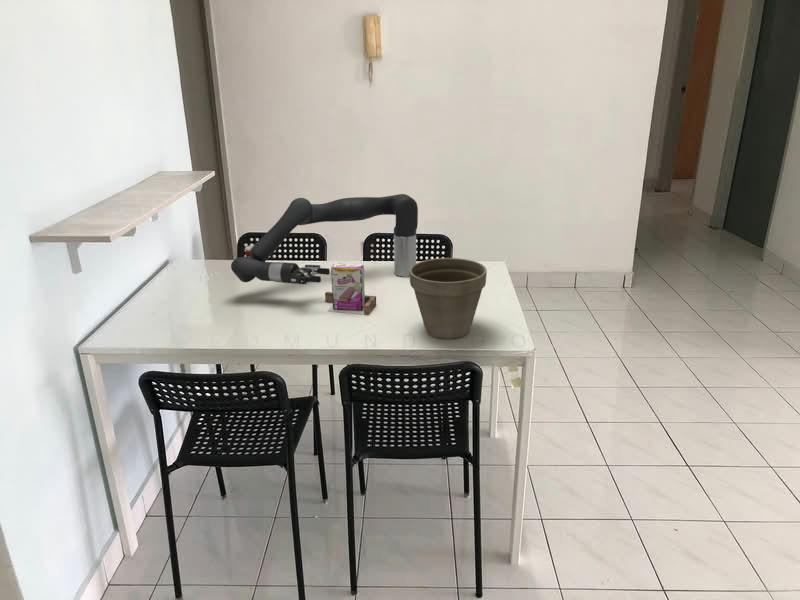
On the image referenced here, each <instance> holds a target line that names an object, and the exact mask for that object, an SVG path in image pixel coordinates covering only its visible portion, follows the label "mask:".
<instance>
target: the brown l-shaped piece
mask: <svg viewBox="0 0 800 600" xmlns="http://www.w3.org/2000/svg"><path fill="white" fill-rule="evenodd" d="M324 298H325V299H324V300H325V303H331V304H333V298H332V292H331V291H326V292H324ZM376 306H377V296H376V295H375V296H374V295H367V294H365V305H364V316H369V315H370V314H369V313H371V312H372V311H373V310H374V309H375V307H376ZM373 308H374V309H373Z"/></svg>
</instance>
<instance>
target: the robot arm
mask: <svg viewBox="0 0 800 600" xmlns="http://www.w3.org/2000/svg"><path fill="white" fill-rule="evenodd" d="M418 209H419V207H418V203H417V201H416V200H415V199H414V198H413V197H411V196H410V195H408V194H405V193H399V194H398V193H397V194H394V195H388V196H381V197H380V196H378V197H377V196H374V197H373V196H365V197H364V196H363V197H362V196H361V197H360V196H357V197H356V196H355V197H345V198H344V197H343V198H339V199H335V200H332V201H328V202H325V203H311V201H309V199H307V198H305V197H298V198H297V197H296V198H295V199H293V200H292V201H291V202H290V204H289V206H288V207H287V209H286V210H285V211H284V213H283V215H281V217H280V218H279V219H278V221H276V223H275V224H274V225H273V226H272V227H271V228H270V229H269V230H268V231H267V232H266V233H265V234H264V235H263V236H262V237H260V239H259V240H258V241H257V242H256V243H254V244H253V245H254V246H253V247H252V248H251V250H250V255H251V258H248V257H246V256H241V257H236V258H234V260H233V261H232V262H231V264H230V269H231V271H232V273H234V275H235V276H236V277H237V278H238V279H239V281H240V282H242V283H249V282H251V281H253V280H254V279H257V280H259V281H264V282H273V283H282V284H295V285H296V284H297V285H307V284H310V283H317V284H319V283H321V282H322V278H321V276H320V275H324V276H325V275H328V276H329V275H330V274H331V268H326V267H325V268H324V267H321V265H319V264H305V265H304V266H303V267H299V265H298V263H296V262H285V261H284V262H283V261H282V262H281V261H275V262H272V261H267V260H268V259H269V258H270V257H271V256H272V255H273V254H274V253H275V251H277V250H278V248H279V247H280V245H281V244H282V243H283V242H284V240H285V239H286V238H287V236H288V235H290V233H291V232H292V231H293V230H294V229H295V228H296V227H298V226H306V225H311V224H319V223H324V222H337V223H338V222H354V221H355V222H357V221H358V222H359V221H364V220H367V219H368V220H369V219H372V218H374V217H377V216H385V215H386V216H387V215H388V216H389V215H390V216H391V215H392V216H395V224H394V225H395V226H394V228H393V255H394V258H393V260H394V262H393V263H394V264H393V266H394V267H393V269H394V271H393V272H394V273H395V274H396V276H397V275H398V277H400V276H402V277H405V278H408V277H409V269H410V267H411V266H413V265H414V264H416V263H417V229H418V225H419V223H418V222H419V220H418V219H419V215H418V214H419V210H418ZM394 273H393V274H394ZM395 274H394V275H395ZM402 277H401V278H402ZM409 278H410V277H409Z"/></svg>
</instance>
